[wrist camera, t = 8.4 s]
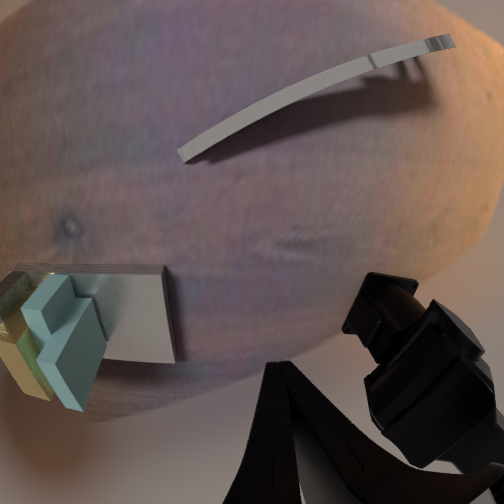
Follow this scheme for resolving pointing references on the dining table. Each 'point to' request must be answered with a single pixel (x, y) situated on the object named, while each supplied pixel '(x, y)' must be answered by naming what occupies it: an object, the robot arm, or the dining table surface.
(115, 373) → the dining table surface
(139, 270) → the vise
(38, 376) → the brass block
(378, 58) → the grey long thin bar
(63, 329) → the block
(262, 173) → the dining table surface
